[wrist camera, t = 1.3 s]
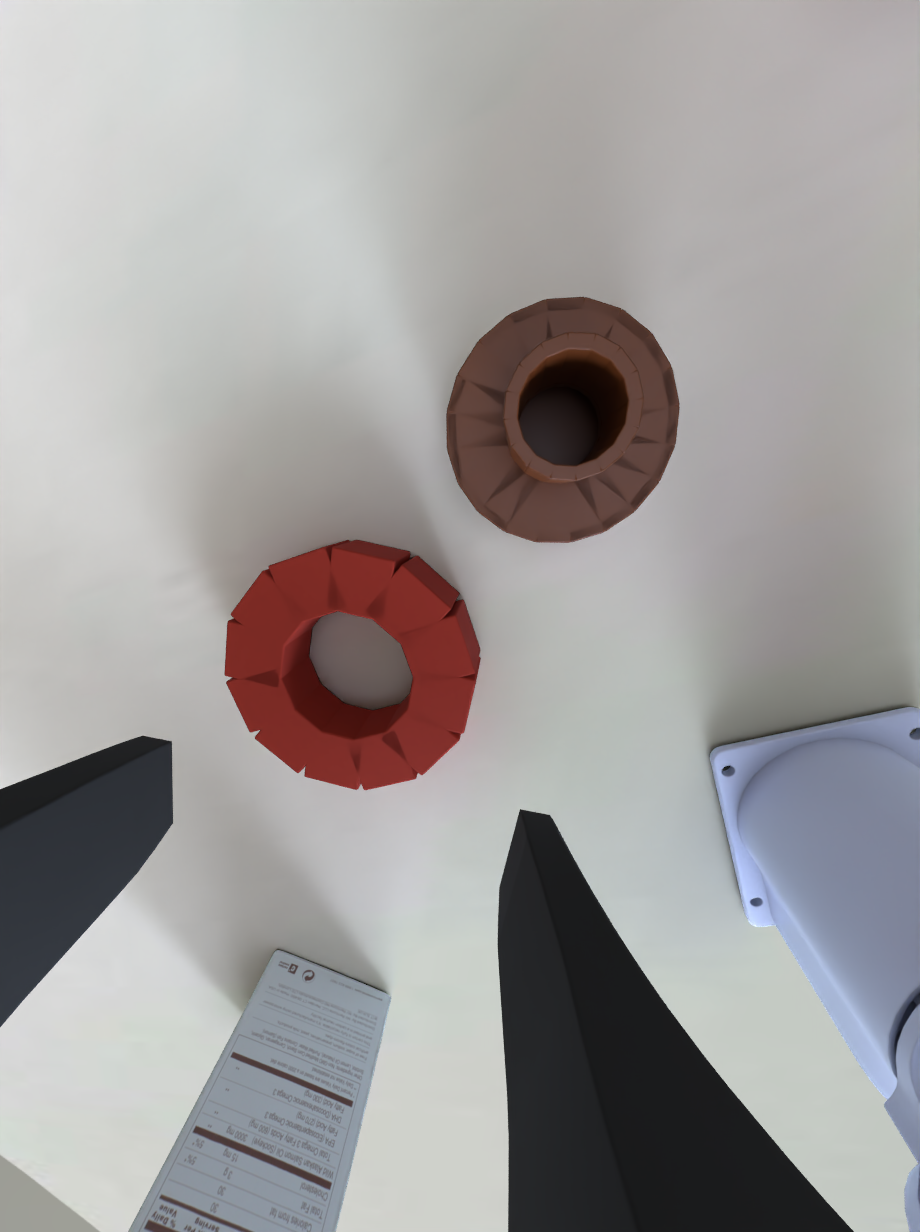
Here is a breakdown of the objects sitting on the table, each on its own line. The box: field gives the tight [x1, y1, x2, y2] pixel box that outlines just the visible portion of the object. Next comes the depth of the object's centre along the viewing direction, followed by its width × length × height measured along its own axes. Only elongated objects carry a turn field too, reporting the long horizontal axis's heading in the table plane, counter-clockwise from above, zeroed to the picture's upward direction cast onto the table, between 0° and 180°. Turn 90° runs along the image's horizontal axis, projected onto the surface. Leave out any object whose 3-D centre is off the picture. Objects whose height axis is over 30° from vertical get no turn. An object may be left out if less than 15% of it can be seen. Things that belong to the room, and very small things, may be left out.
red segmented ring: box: [225, 540, 481, 790], centre depth 19 cm, size 10×10×3 cm
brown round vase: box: [446, 297, 680, 543], centre depth 14 cm, size 7×7×7 cm
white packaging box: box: [128, 950, 391, 1232], centre depth 20 cm, size 7×7×13 cm
